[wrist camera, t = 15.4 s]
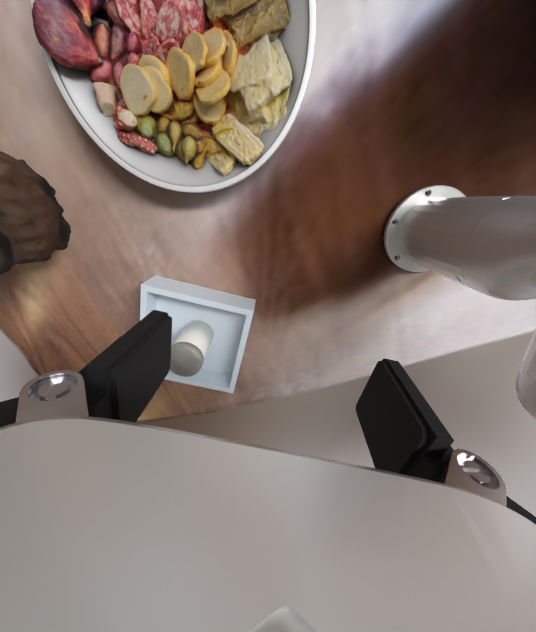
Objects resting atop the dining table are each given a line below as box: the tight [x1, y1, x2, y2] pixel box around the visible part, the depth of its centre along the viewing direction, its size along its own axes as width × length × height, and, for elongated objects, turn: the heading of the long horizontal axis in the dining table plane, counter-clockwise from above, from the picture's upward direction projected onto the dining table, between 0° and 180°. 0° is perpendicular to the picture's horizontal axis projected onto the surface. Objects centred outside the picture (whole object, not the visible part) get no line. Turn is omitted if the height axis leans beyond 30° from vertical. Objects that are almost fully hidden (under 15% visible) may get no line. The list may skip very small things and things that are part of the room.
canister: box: [170, 320, 214, 377], centre depth 42 cm, size 6×6×9 cm
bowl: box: [30, 0, 316, 193], centre depth 27 cm, size 30×30×8 cm
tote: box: [140, 275, 256, 393], centre depth 45 cm, size 18×18×5 cm
